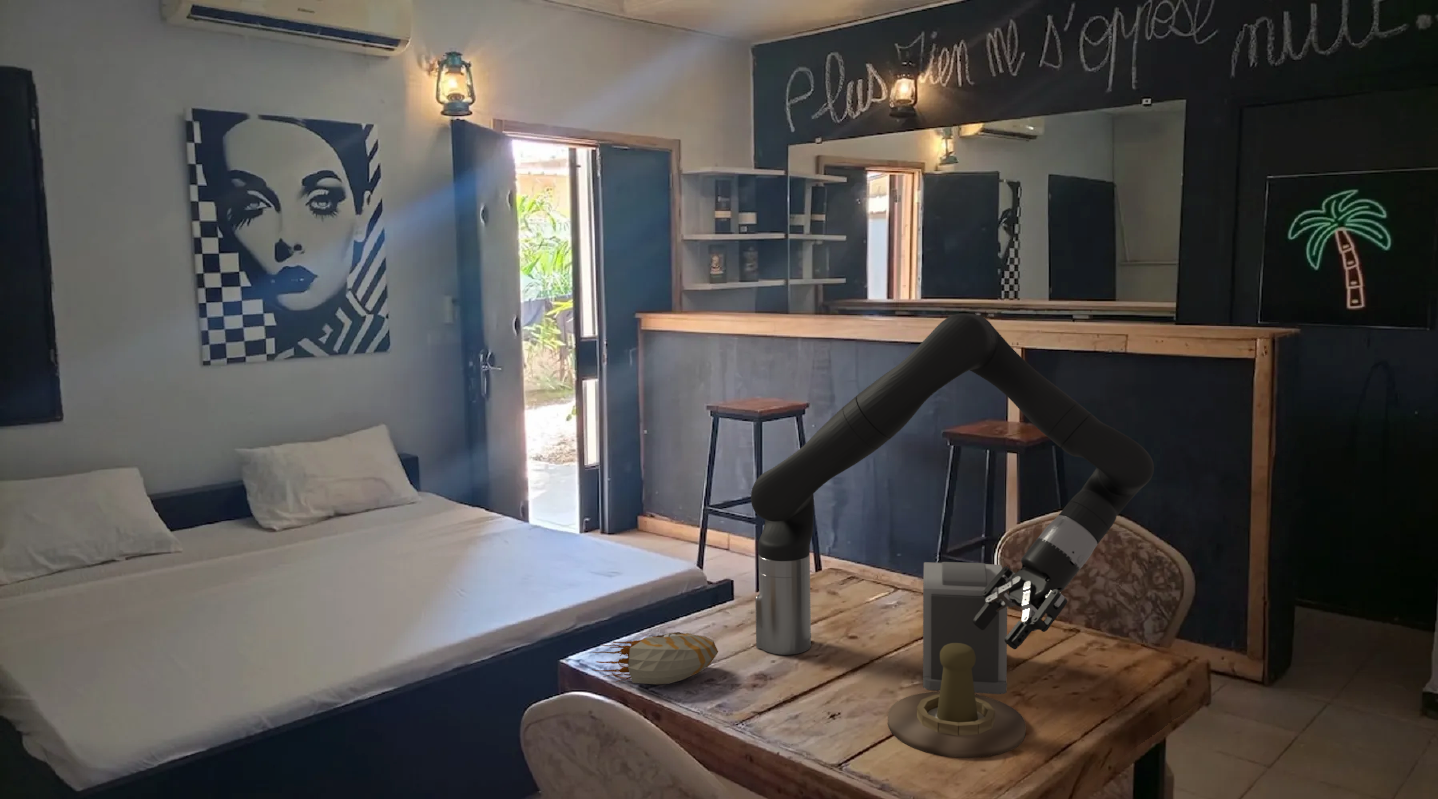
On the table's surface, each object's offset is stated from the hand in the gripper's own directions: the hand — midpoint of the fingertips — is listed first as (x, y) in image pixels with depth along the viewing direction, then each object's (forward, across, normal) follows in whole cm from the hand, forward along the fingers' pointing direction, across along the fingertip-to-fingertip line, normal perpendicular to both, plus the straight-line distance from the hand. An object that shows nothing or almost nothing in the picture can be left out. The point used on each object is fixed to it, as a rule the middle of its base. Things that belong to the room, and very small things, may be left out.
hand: (992, 635), depth 154 cm
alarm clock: (+5, -19, +14) cm, 24 cm away
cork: (+13, 0, +4) cm, 13 cm away
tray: (+14, 0, +5) cm, 15 cm away
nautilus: (+40, -35, -21) cm, 57 cm away
